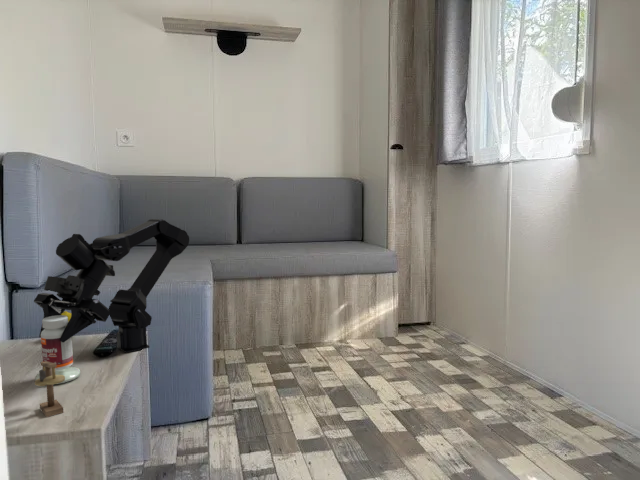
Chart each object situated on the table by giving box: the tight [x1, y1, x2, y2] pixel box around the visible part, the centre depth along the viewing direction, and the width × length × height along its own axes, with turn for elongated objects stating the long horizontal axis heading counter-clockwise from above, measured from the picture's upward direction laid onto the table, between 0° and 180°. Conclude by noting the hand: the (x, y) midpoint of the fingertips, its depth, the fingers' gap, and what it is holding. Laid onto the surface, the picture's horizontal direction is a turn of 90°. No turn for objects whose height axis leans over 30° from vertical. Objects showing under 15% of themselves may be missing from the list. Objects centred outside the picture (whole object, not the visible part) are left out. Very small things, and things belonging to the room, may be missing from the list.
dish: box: [35, 366, 81, 385], centre depth 117 cm, size 9×9×1 cm
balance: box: [34, 361, 65, 418], centre depth 101 cm, size 11×4×10 cm, turn 41°
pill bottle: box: [40, 315, 74, 371], centre depth 117 cm, size 6×6×11 cm
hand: (51, 339), depth 115 cm, fingers closed on pill bottle, 6 cm apart
